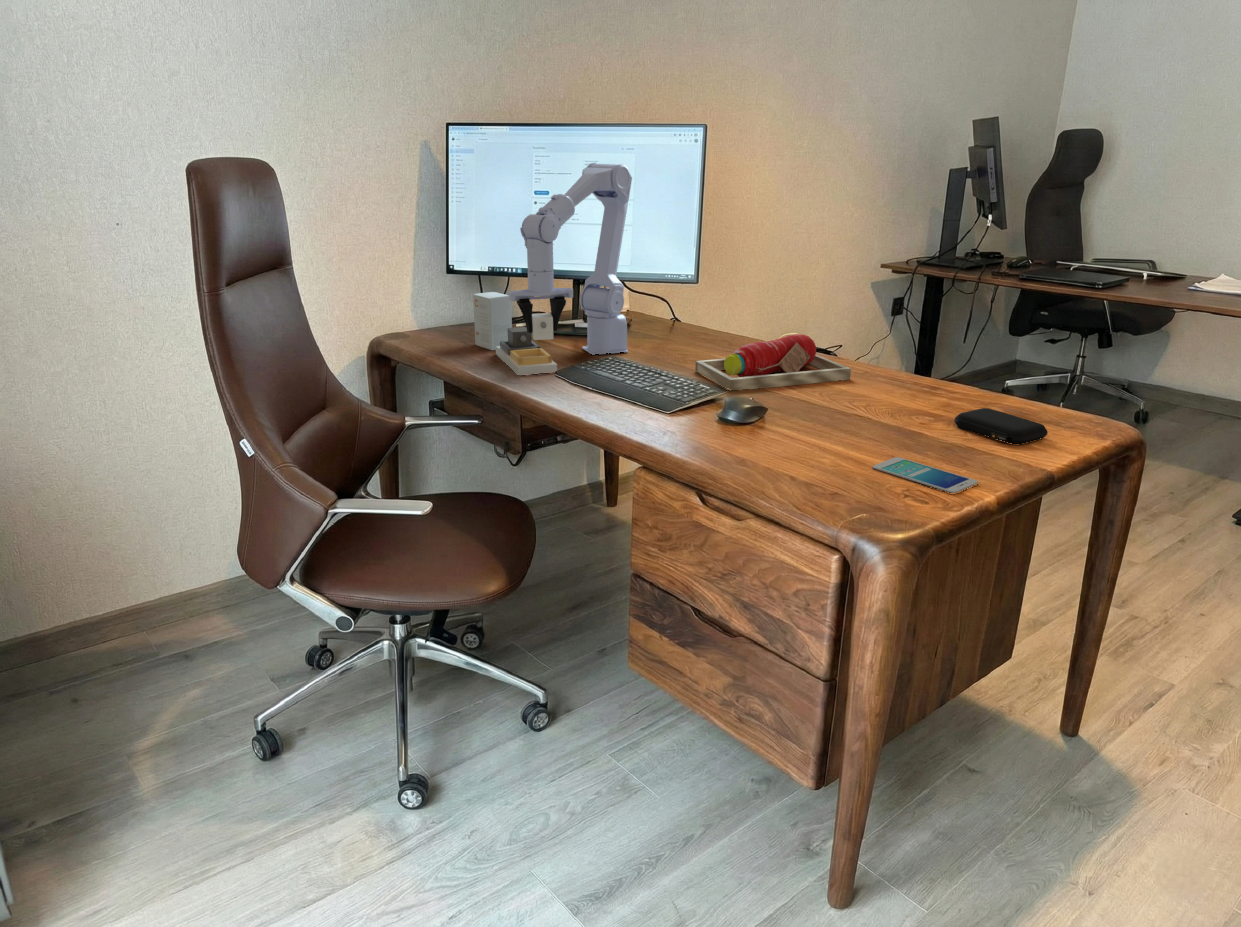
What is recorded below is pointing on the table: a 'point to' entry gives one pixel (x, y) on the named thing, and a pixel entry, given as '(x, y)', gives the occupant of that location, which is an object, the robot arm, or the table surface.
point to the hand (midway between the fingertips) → (542, 331)
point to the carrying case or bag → (1000, 426)
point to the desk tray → (775, 375)
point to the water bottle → (771, 356)
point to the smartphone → (925, 475)
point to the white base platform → (526, 359)
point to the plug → (542, 326)
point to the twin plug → (519, 337)
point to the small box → (491, 319)
